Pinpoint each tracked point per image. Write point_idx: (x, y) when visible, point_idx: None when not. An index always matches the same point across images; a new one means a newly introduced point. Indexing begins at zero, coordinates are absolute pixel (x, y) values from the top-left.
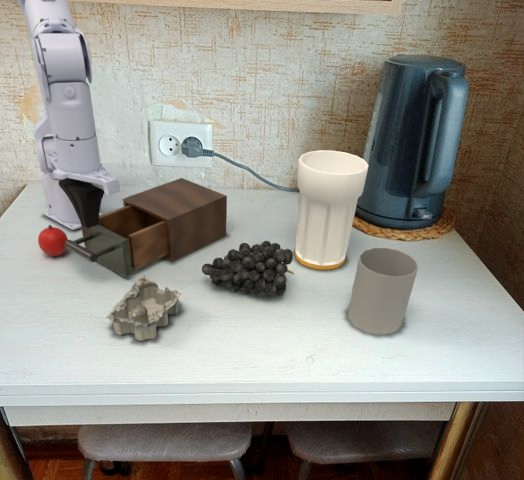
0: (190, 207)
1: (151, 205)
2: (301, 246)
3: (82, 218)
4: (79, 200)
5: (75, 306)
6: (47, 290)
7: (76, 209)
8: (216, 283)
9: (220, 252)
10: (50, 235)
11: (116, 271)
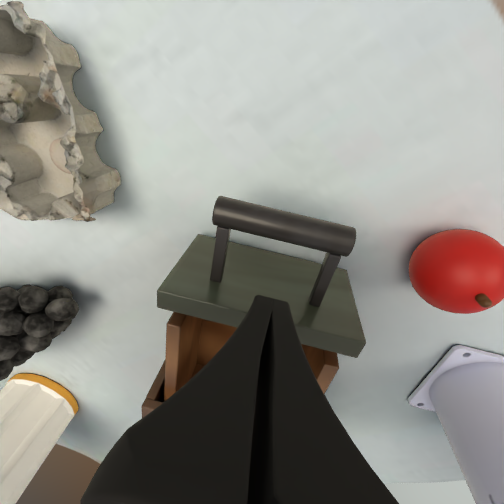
0: None
1: None
2: (34, 405)
3: (261, 318)
4: (193, 394)
5: (221, 68)
6: (347, 88)
7: (287, 350)
8: (52, 288)
9: (149, 368)
10: (462, 271)
11: (231, 242)
